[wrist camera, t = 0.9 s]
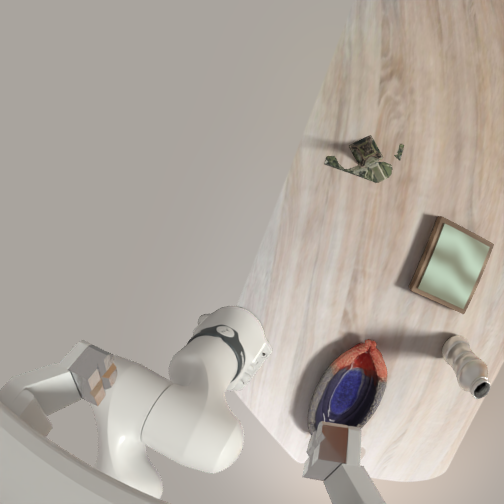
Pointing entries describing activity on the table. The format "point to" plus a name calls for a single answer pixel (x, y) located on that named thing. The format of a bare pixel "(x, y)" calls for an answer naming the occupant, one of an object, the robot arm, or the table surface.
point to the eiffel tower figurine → (367, 161)
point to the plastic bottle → (466, 366)
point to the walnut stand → (451, 265)
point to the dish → (350, 388)
